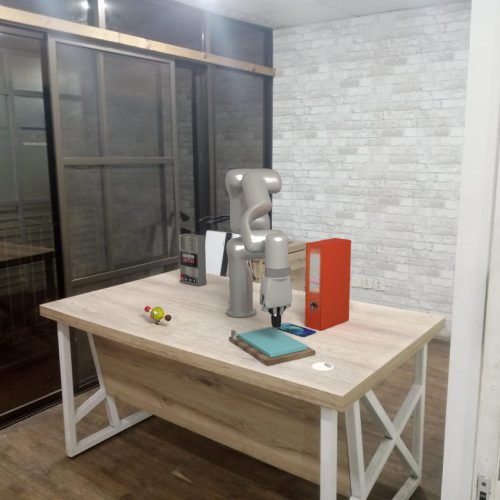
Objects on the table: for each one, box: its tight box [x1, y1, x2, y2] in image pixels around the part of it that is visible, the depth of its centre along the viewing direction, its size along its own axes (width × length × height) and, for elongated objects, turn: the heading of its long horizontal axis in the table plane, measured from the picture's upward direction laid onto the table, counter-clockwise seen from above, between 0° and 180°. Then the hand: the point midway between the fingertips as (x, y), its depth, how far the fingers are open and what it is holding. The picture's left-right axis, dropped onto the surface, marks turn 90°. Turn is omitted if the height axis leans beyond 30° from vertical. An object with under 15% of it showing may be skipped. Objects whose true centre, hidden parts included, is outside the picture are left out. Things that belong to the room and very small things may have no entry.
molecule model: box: [144, 305, 172, 326], centre depth 202 cm, size 18×6×7 cm, turn 40°
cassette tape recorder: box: [178, 233, 208, 287], centre depth 265 cm, size 14×6×25 cm, turn 50°
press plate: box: [236, 326, 308, 358], centre depth 175 cm, size 23×14×1 cm, turn 29°
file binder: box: [304, 237, 352, 332], centre depth 197 cm, size 8×17×32 cm, turn 134°
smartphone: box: [277, 322, 317, 338], centre depth 193 cm, size 8×1×15 cm
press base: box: [228, 325, 316, 367], centre depth 175 cm, size 26×18×4 cm
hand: (276, 326), depth 171 cm, fingers closed
